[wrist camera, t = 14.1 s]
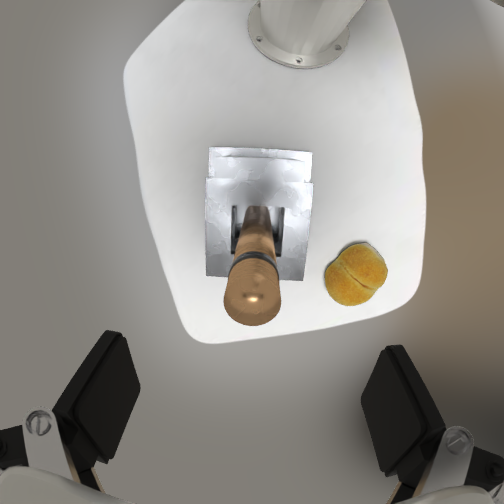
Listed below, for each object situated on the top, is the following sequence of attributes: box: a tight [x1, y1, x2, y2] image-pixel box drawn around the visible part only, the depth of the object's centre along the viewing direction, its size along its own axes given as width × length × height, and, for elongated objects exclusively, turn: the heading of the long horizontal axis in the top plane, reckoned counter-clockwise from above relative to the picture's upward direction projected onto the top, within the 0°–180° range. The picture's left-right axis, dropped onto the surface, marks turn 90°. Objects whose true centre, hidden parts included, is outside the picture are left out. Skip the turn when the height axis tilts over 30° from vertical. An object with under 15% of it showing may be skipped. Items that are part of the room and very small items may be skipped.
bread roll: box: [325, 243, 388, 306], centre depth 35 cm, size 8×9×4 cm
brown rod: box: [224, 206, 281, 326], centre depth 24 cm, size 3×3×20 cm
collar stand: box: [205, 147, 314, 281], centre depth 29 cm, size 14×12×8 cm
